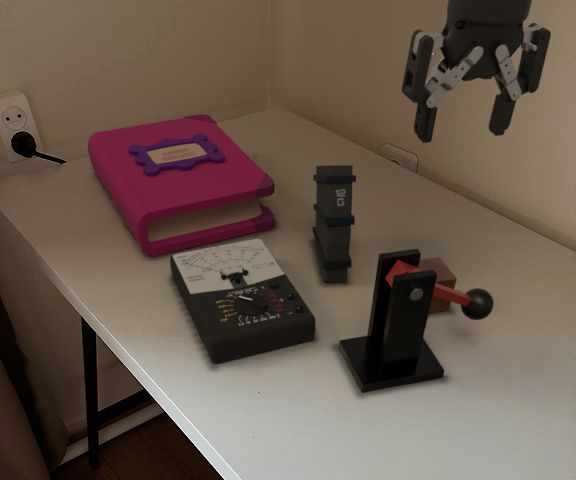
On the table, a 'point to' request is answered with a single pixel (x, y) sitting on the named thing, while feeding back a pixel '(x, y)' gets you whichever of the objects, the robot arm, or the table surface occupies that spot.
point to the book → (181, 183)
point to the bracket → (395, 329)
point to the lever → (453, 294)
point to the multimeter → (241, 300)
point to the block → (439, 281)
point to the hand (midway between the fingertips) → (460, 136)
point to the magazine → (333, 220)
